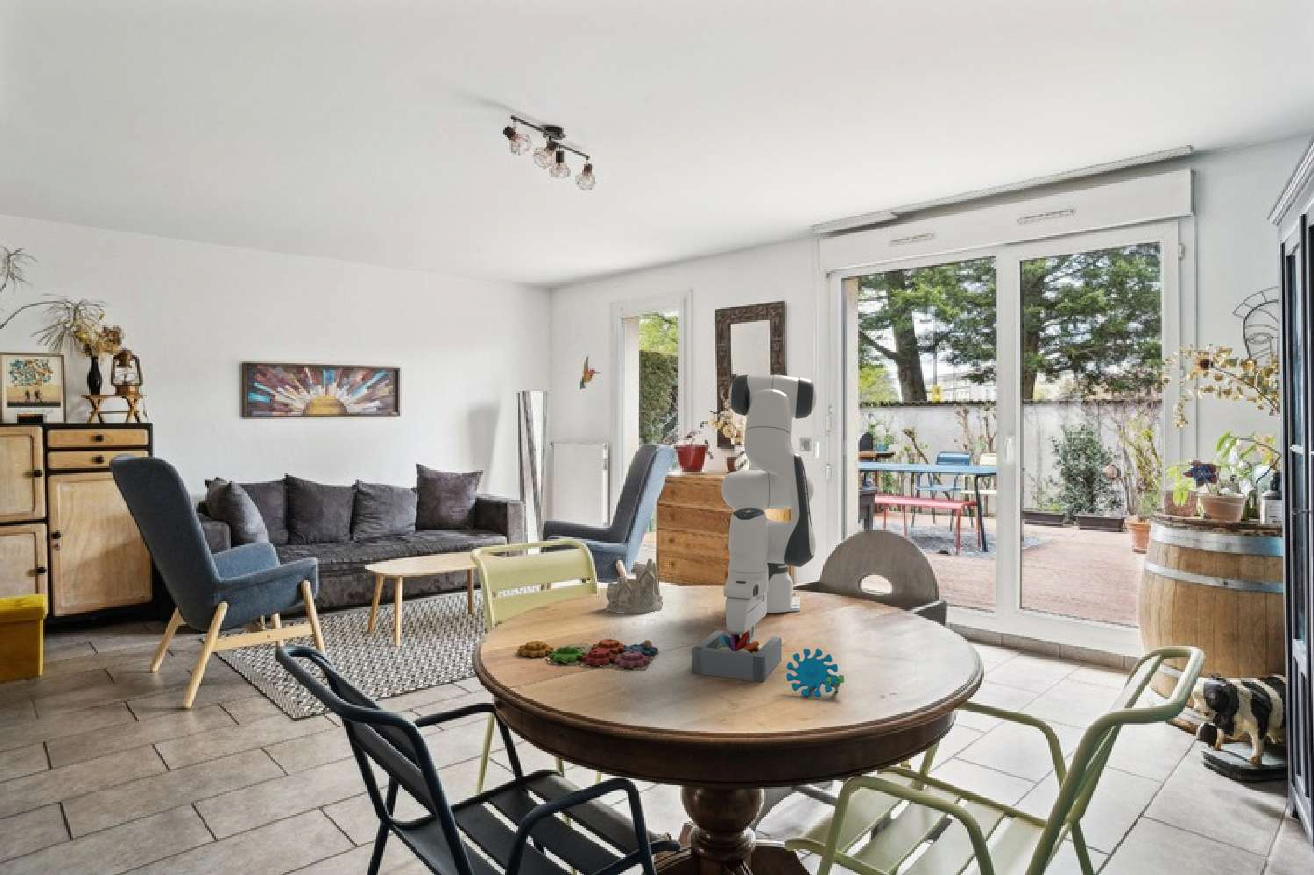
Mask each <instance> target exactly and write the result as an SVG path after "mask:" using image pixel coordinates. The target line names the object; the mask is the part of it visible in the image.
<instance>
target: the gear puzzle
mask: <svg viewBox="0 0 1314 875" xmlns="http://www.w3.org/2000/svg"><path fill="white" fill-rule="evenodd" d="M588 644H589V643H587V642H586V643H585V642H580V643H568V644H567V645H566V646H559V647H558V648H556V649H555V650H554V647H553V646H550V645H549V644H547V643H546V642H544V641H539V640H535V641H534V640H531V641H528V642H526V644H523V645H519V648H518V649H517V653H518V654H521V657H526V656H527V657H528V656H529V657H531V658H535V657H542V656H544V657H545V656H546V655H547V656H546V657H547V658H550V660H547V663H548V662H550V663H557V664H558V665H559V663H558V662H563V663H562V664H566V665H567V666H570V665H583V666H595V665H601V666H599V668H600V667H603V668H602V669H613V668H614V669H613V670H622V669H623V670H624V669H632V670H633V671H636V672H638V671H640V672H643V671H644V672H645V671H646V670H647V669H648V668H649V667H648V665H651V664H652V662H653V661H654V660H655V659H656V658H655V657H656V656H658V655H659V653H660V652H659V651H660V650H659V649H658V647H655V646H653V645H652V641H651V640H649V639H646V640H644V641H643V642H641V643H640V644H637V643H634V644H631V645H627V644H623V643H622V642H620V641H619V640H617V639H612V638H607V639H606V638H605V639H602V640H599V642H598V643H594V644H591V645H590V644H589V645H588ZM564 662H566V663H564ZM557 664H556V665H557ZM583 666H582V667H583Z"/></svg>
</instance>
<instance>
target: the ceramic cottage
mask: <svg viewBox="0 0 1314 875" xmlns="http://www.w3.org/2000/svg"><path fill="white" fill-rule="evenodd" d="M658 573H659V572H658V569H657V563H656V562H655V561H653V558H648V559H647V562H646V566H645V567H644V568H643V569H635V578H628V577H627V576H624V578H623V577H622V576H620V577H618V576H617V582H615V583H614V582H608V583H607V592H606V599H607V600H608V604H607V605H606V608H605V609H606V610H607V611H606V610H605V611H606V612H608V611H611V612H610V613H615V612H624V613H623V614H625V613H628V614H629V613H638V614H639V613H644V614H650V613H649V612H654V613H656V612H655V611H658V612H660V611H662V610H661V609H663V607H664V606H663V604H664V602H663V596H662V595H661V592H660V586H659V582H658V581H659V580H658V579H659V578H658V575H659V574H658ZM659 610H660V611H659Z"/></svg>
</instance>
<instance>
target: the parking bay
mask: <svg viewBox="0 0 1314 875" xmlns="http://www.w3.org/2000/svg"><path fill="white" fill-rule="evenodd" d="M721 635H725V631H724V630H714V631H713V632H711V634H709V635H708V636H706V637H705V638H704V639H703V640H701V641H700V642H698V644H696V645H695V646H694V647H692V648H691V674H697V675H705V676H710V677H711V676H713V677H719V678H728V679H733V680H734V679H736V680H740V681H741V680H743V681H751V682H757V683H764V682H765V680H766V679H767V678H768V677H769V676H770V675H771V673H772V672H773V671H774V670H775V668H776V667H778V665H779V664H780V663H781V662H782V651H783V650H782V648H783V647H782V646H783V644H782V640H783V639H782V636H781V637H779V636H772V637H771V638H769V639H768V640H767V641H766V642H765V643H764V645H762V646H761V648H759V651H758V652H757V653H748V652H739V651H730V650H722V649H717V648H718V647H720V646H723V645H722V644H721V642H720V636H721Z"/></svg>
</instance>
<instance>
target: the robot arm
mask: <svg viewBox="0 0 1314 875" xmlns="http://www.w3.org/2000/svg"><path fill="white" fill-rule="evenodd" d="M730 384H731V385H730V386H729V389H728V395H727V396H728V402H729V405H730V408H731V409H730V410H732V412H734V413H735V414H737V415H740V416H743V417H746V416H747V417H746V421H745V422H746V423H745V430H744V442H743V443H744V445H743V446H744V447H743V448H744V453H745V456H746V458H747V459H748V461H749V462H750V463H751V464H752V465H754V466H755V467H757V468H758V469H741V470H737V471H733V472H729V473H727V474H726V475H725V476H724V478H723V480H722V482H721V488H720V492H721V497H722V500H723V501H724V502H725V504H726V505H727V506H728V507H729V508H731V509H732V510H733V512H732V513H731V517H730V522H729V529H728V530H729V531H728V543H727V544H728V545H727V546H728V547H727V548H728V553H729V563H728V569H727V570H728V572H727V573H728V574H727V575H728V576H727V580H726V583H725V585H724V586H723V597H725V623H726V630H727V632H728V633H729V635H730V634H738V635H740V636H742V635H743V634H745V633H746V632H747V631H748V632H749V633H750V636H749V639H748V641H747V643H752V642H755V641H754V640H755V638H754V636H755V632H756V628H757V625H756V624H757V623H759V621H761V620H762V619H763V618H764V617H766V615H767V614H781V613H789V612H799V611H801V597H800V596H798V595H796V592H794V589H793V588H794V586H793V585H794V582H793V579H792V577H791V575H790V573H789V572H788V571H789V570H790V569H789V566H791V567H796V568H797V567H798V568H801V567H803V566H805V565H806V564H808V563H809V562H810V561H812V560H813V558H814V557H815V553H816V547H817V546H816V543H817V542H816V537H815V534H814V530H813V525H812V517H811V516H812V515H811V507H810V502H811V500H812V499H813V495H814V483H813V481H812V479H811V477H810V476H809V475H808V474H807V473H806V468H805V464H804V461H803V459H802V457H801V455H800V454H798V453H796V452H795V451H794V450H795V449H794V448H793V445H792V425H793V418H795V420H796V419H797V420H798V419H803V418H807V417H809V416H810V415H811V414H812V413H813V411H814V408H815V406H816V402H817V391H816V389H815V386H814V382H812V380H810V379H808V378H806V377H805V378H804V377H801V376H798V377H794V376H789V375H781V374H772V375H771V374H758V375H757V374H754V375H749V374H742V375H737V376H736V377H735V378H734V379H733V380H732V383H730ZM765 510H790V511H791V519H790V520H789V521H778V520H777V521H776V520H774V521H773V520H772V519H769V518H767V515H766V512H765ZM747 643H746V644H747Z"/></svg>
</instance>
